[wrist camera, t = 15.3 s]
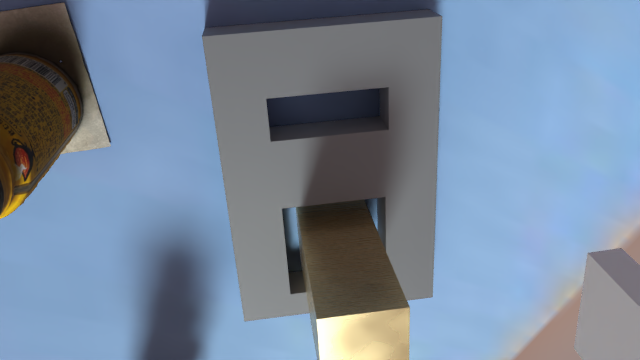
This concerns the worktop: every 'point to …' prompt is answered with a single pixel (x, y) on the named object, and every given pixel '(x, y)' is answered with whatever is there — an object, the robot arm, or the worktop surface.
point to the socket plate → (327, 141)
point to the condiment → (41, 99)
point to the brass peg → (351, 285)
